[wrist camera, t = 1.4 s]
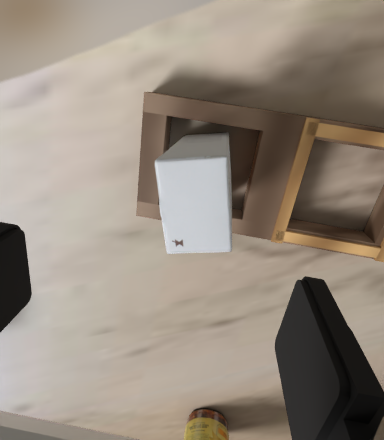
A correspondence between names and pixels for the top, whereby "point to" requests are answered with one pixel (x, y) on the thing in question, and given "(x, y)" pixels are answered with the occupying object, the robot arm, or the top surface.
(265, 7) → the top surface
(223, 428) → the sauce bottle
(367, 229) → the wooden flat frame
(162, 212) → the skincare box
